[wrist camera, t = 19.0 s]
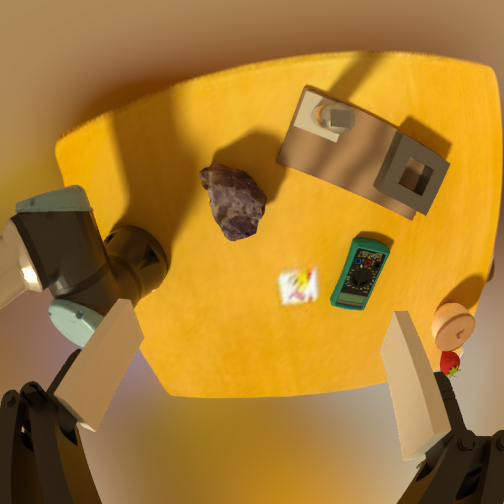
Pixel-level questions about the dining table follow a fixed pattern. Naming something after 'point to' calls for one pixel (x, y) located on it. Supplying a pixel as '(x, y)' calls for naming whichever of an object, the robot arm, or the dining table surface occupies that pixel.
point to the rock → (233, 200)
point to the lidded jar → (452, 326)
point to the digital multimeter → (359, 273)
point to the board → (349, 157)
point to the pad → (305, 119)
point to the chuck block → (396, 165)
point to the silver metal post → (334, 117)
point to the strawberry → (449, 363)
